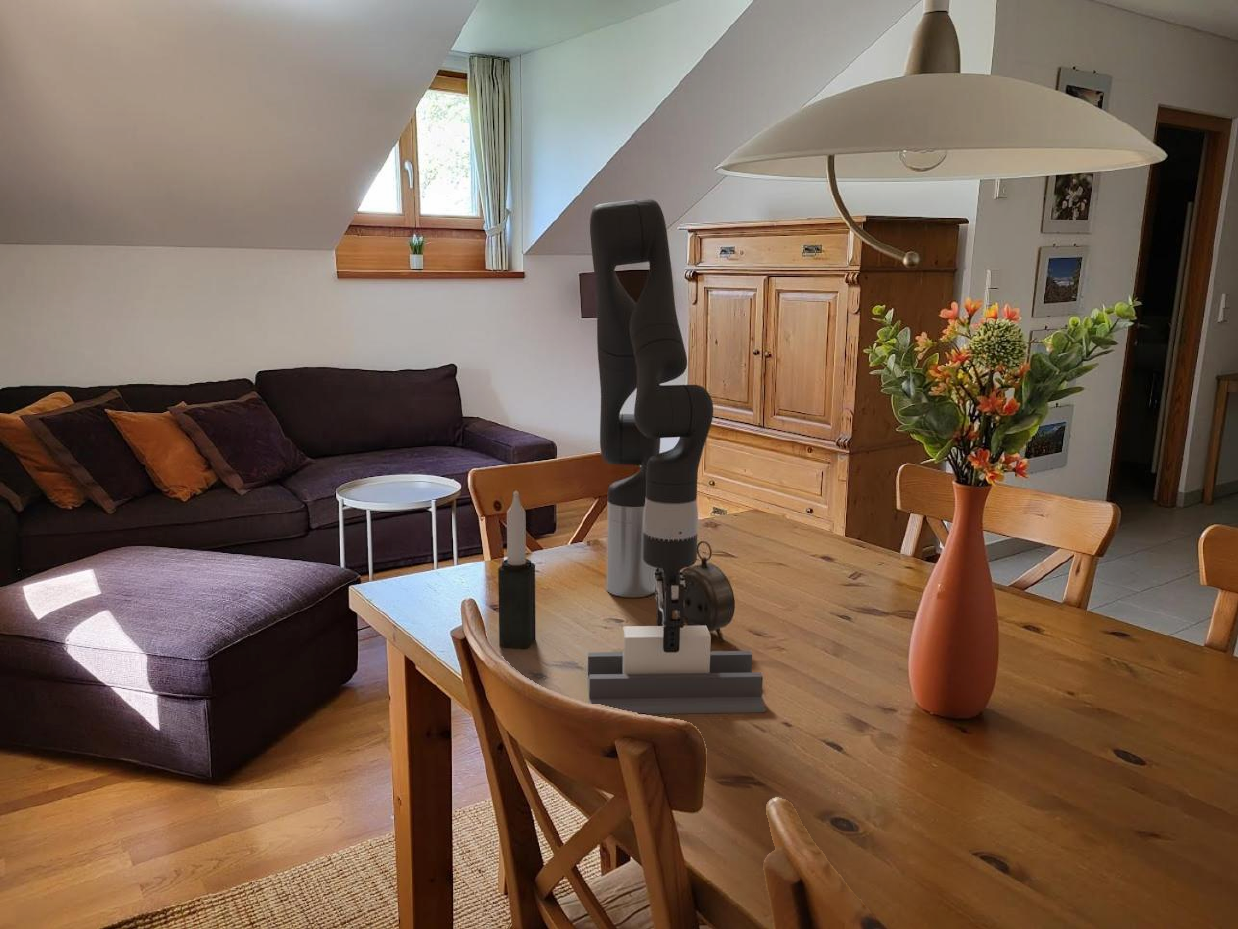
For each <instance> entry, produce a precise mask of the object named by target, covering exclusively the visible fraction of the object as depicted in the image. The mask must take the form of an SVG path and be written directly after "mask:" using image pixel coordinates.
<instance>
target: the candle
mask: <svg viewBox="0 0 1238 929" xmlns="http://www.w3.org/2000/svg"><path fill="white" fill-rule="evenodd" d="M519 493H520V492H518V491H517V490H515V491H514V492H513V493H512V494H513V497H512V502H511V504H510V506H509V509H507V512H506V547H507V548H506V549H507V551H506V552H507V553H506V555H507V556H506V557H507V558H506V559H504V560H503V561H502V562H501V565H500V566H499V567H498V569H497V570H498V571H497V575H498V578H497V579H498V580H497V581H498V586H497V587H498V641H499V642H498V643H499V646H500V647H501V648H507V649H508V648H509V649H518V650H519V649H520V650H526V649H529V648H531V645H532V643H533V642H534V641H536V564H535V563H534V562H532V561H531V560H530V559H527V543H526V542H527V538H526V536H527V535H526V534H527V532H526V531H527V529H526V528H527V527H526V525H527V524H526V522H527V520H526V511H525V509H524V508H523V506H522V503H521V501H520V498H519V496H520V495H519Z"/></svg>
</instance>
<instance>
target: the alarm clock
mask: <svg viewBox="0 0 1238 929" xmlns="http://www.w3.org/2000/svg"><path fill="white" fill-rule="evenodd" d="M701 544H705V545H706V546H707V547H708V549H709V556H708V557H706V556H704V557H701V554H700V550H699V547H700V545H701ZM712 554H713V550H712V547H711V544H710V543H708V541H705V540H701V541H699V542H697V556H698V557H699V559H700V561H701V563H698V564H696V565H695V564H694V565H692V566H690V567H685V568H683V569H682V570H680V572H682V578H684V579H685V591H684V620H683V621H684V623H685V624H686V626H707V628H708V631H709V633H710V632H714V631H715V632H716V634H717V636H718V638H719V639H720V643H725V639H724V637H723V633H722V631H721V629H723V628H725V627H727V626H728V625H729V624H730V623H731V621H732V620H733V617H734V614H735V608H736V606H735V605H736V602H735V595H734V590H733V587H732V584H731V582H730V581H729V579H728V577H727V576H726V574H725V572H724V571H723V570H722V569H721V568H719V566H717V565H715V564H713V563H711V562H708V561H709V560H710V559H711V557H712Z"/></svg>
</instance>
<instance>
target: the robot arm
mask: <svg viewBox="0 0 1238 929" xmlns="http://www.w3.org/2000/svg"><path fill="white" fill-rule="evenodd" d="M589 236H590V245H591V246H590V247H591V256H592V265H593V273H594V274H593V276H594V283H595V294H596V295H595V296H596V326H597V327H596V333H597V334H596V343H597V344H596V345H597V346H596V347H597V360H598V371H599V383H600V384H599V385H600V416H599V417H600V418H599V420H600V425H599V445H600V446H599V447H600V453H601V457H602V459H603V461H605V462H606V463H608V464H609V465H610V464H611V465H617V466H621V465H622V466H641V468H640V470H638V471H637V472H636V473H635V474H632V475H631V476H628V477H627V478H623V479H620V480H617V481H614V482H612V483H611V484H610V485H609V486H608V488H607V518H606V519H607V525H606V526H607V528H606V534H607V536H606V591H607V592H608V593H609V594H611V595H614V596H616V597H621V598H643V597H647V596H650V595H652V594H654V595H655V597H654V598H655V601H656V626H663V650H664V652H666V653H672V652H678V651H679V646H680V628H683V626H685V621H684V591H685V579H684V578H682V572H681V571H682V570H684V569H686V568H688V567H692V566H694V565H695V563H696V562H697V560H698V557H697V556H698V554H697V545H698V533H699V530H698V529H699V527H698V526H699V510H698V478H699V475H698V473H699V467H700V462H701V458H702V456H703V455H702V454H703V451H704V447H705V444H706V441H707V438H708V435H709V432H710V430H711V426H712V423H713V417H714V404H713V400H712V397H711V395H710V393H709V391H708V390H707V389H706V388H704V386H702V385H698V384H670V385H669V384H666V385H665V383H669V382H671V381H674V380H675V379H677V378H679V377H681V376H682V375H683V374H684V373H685V372H686V370H687V366H688V359H687V353H686V348H685V344H684V339H683V337H682V333H681V328H680V324H679V320H678V315H677V310H676V302H675V291H674V280H673V269H672V263H671V256H670V255H671V253H670V246H669V237H668V230H667V225H666V220H665V217H664V213H663V210H662V208H661V205H660V204H659V203H658V202H657V201H656V200H655V199H652V198H651V199H650V198H649V199H648V198H642V199H641V198H640V199H639V198H638V199H631V200H623V201H622V200H620V201H613V202H612V201H611V202H606V203H600V204H597V205H595V206H594V207H593V209H592V210H591V213H590V218H589ZM643 263H644V264H645V263H649V271H648V276H647V279H646V281H645V285H644V286H643V289H642V291H641V293H640V295H639V297H638V298H637V301H636V302H635V301H634V299H633V298H632V297H631V296H630V295H629V294H628V292H627V291H626V289H625V288H624V286H623V285H622V283H621V281H620V280H619V277H618V275H617V274H616V267H618V266H625V265H634V264H635V265H636V264H643ZM662 384H664V385H662ZM635 390H636V392H635ZM634 392H635V394H636V395H635V401H634V409H633V413H631V414H630V413H621V411H622V409H623V407H624V405H625V403H626V402H627V400H628V399H629V397H630V396H631V395H632V394H633V393H634ZM665 438H667V439H669V438H679V439H678V441H677V442H676V444H675V445H674V447H673V448H671V449H669V450H667V451H664V452H660V449H661V439H665ZM673 612H675V613H676V617H673Z"/></svg>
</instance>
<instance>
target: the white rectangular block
mask: <svg viewBox="0 0 1238 929" xmlns="http://www.w3.org/2000/svg"><path fill="white" fill-rule="evenodd" d="M711 639H712V637H711V633H710V632H709V631H708V628H707V626H688V625H683V628H680V646H679V651H678V652H672V653H666V652H664V650H663V626H657V625H645V626H644V625H640V626H638V625H637V626H636V625H635V626H633V625H632V626H629V625H628V626H627V625H626V626H623V627H622V652H623V667H622V674H671V673H709V672H710V651H711V641H712V640H711Z"/></svg>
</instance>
